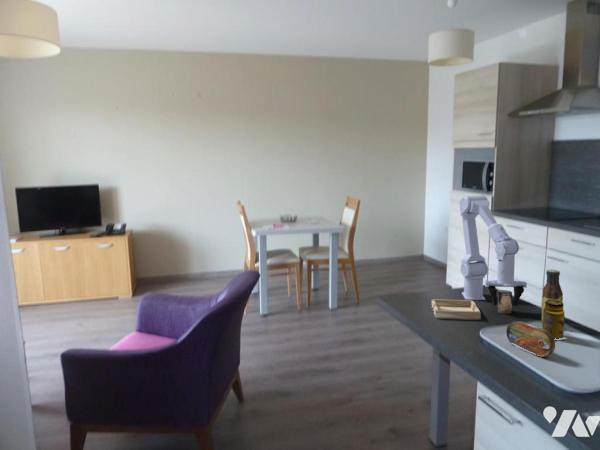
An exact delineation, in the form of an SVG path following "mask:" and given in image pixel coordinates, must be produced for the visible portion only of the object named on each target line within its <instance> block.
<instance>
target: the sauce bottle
mask: <svg viewBox="0 0 600 450" xmlns="http://www.w3.org/2000/svg"><path fill="white" fill-rule="evenodd" d="M545 274H546V283H545V285H544V286H543V288H542V297H541V323H542V325H543V310H544V308H545V302H546V301H547V300H557V301H560V302H562V303H563V299H564V296H563V295H564V293H563V290H562V287H561V284H560V275H561V271H560V270H557V269H547V270H546V273H545ZM563 304H564V303H563Z"/></svg>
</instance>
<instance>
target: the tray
mask: <svg viewBox="0 0 600 450" xmlns="http://www.w3.org/2000/svg"><path fill="white" fill-rule="evenodd" d="M430 303H431V305H432V306H431V309H432V308H433V309H432V312H433V311H434V312H433V315H434V317H435V319H436V318H437V320H439V319H440V320H466V321H468V320H469V321H481V317H482V316H481V314H482V313H481V310H480V309H479V308H478V306H477V304H476V303H475V300H466V299H443V298H442V299H441V298H439V299H436V298H433V299H431V302H430Z"/></svg>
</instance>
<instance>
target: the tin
mask: <svg viewBox="0 0 600 450" xmlns="http://www.w3.org/2000/svg"><path fill="white" fill-rule="evenodd" d="M506 337H507V340H508V341H509V343H510V344H511V343H514V344H516V345H518V346H520V347H522V348H524V349H526V350H528V351H530V352H533V353H535V354H536V355H539V356H540V357H539V358H544V357H547V356H550V355H552V354H553V353H554V352H555V349H556V341H555V340H554V338H553V336H552V335H551V334H550V332H548V331H547V330H545V329H542V328H541V327H539V326H536V325H533V324H530V323H528V322H524V321H520V320H519V321H512V322H510V323H509V324H508V325H507V326H506Z"/></svg>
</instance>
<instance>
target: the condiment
mask: <svg viewBox="0 0 600 450" xmlns="http://www.w3.org/2000/svg"><path fill="white" fill-rule="evenodd" d="M564 305H565V304H564V303H562V302H560V301H557V300H547V301H546V302H545V308H544V310H543V324H542V326H541V327H542V329H545V330H547V331H548V332H550V334H551V335H552V336H553V338H554V339H555V338H556V339H559V338H563V336H564V330H565V329H564V328H565V327H564V326H565V309H564Z"/></svg>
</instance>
